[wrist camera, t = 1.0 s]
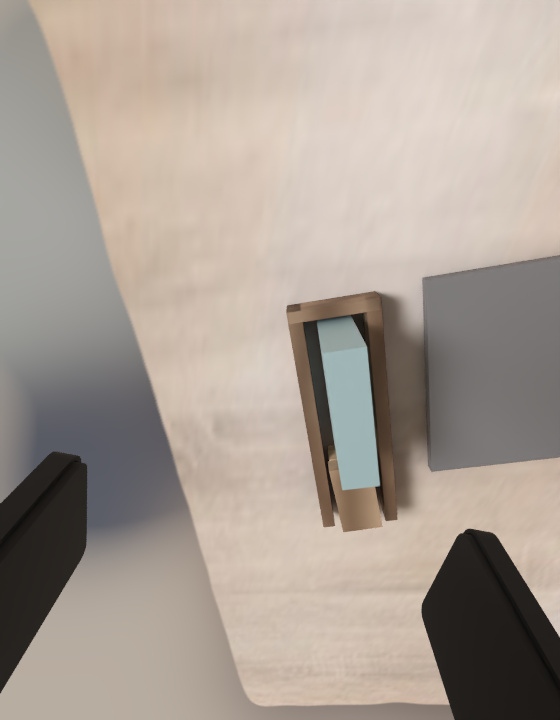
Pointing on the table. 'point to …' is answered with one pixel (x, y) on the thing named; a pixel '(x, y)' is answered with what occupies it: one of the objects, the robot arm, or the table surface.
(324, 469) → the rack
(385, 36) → the table surface
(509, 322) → the mat
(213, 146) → the table surface
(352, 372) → the teal rectangular block
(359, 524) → the offcut top
